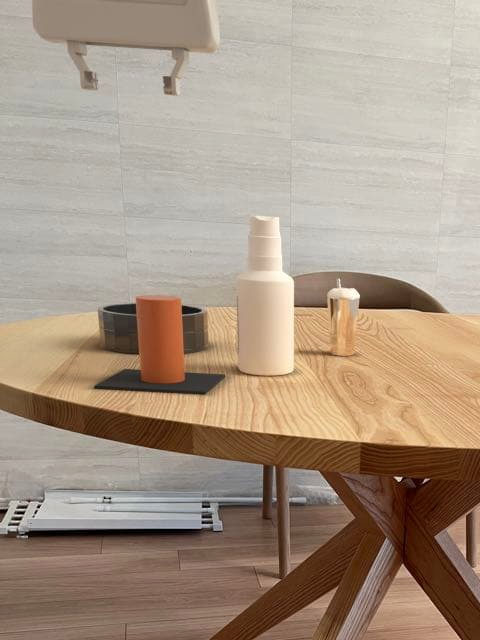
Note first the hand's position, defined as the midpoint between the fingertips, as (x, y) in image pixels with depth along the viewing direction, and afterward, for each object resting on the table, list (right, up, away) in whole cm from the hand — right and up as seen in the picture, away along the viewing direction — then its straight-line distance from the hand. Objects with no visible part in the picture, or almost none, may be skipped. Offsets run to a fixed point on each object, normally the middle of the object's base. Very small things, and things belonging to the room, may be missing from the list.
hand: (131, 92), depth 95 cm
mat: (+4, -34, -1) cm, 34 cm away
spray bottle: (+14, -31, +8) cm, 35 cm away
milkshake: (+22, -25, +23) cm, 41 cm away
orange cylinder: (+4, -33, -1) cm, 33 cm away
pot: (-4, -24, +21) cm, 32 cm away
